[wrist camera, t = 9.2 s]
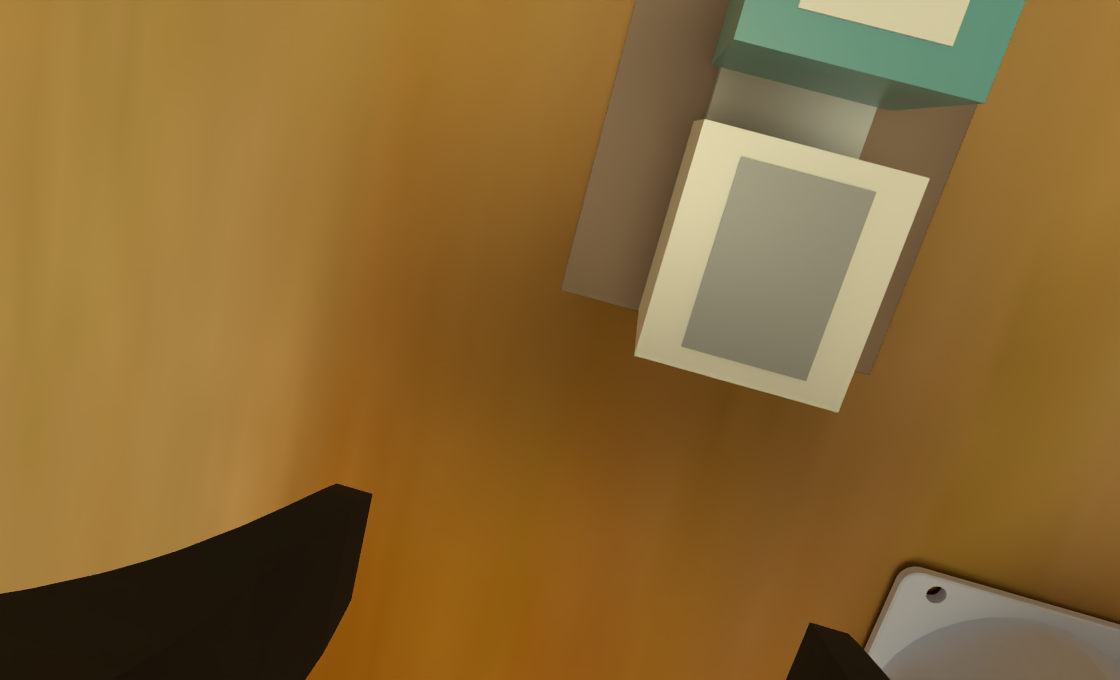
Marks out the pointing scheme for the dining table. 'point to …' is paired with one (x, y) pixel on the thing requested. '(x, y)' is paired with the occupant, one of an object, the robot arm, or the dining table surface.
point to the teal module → (872, 47)
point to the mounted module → (773, 263)
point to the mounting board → (740, 101)
